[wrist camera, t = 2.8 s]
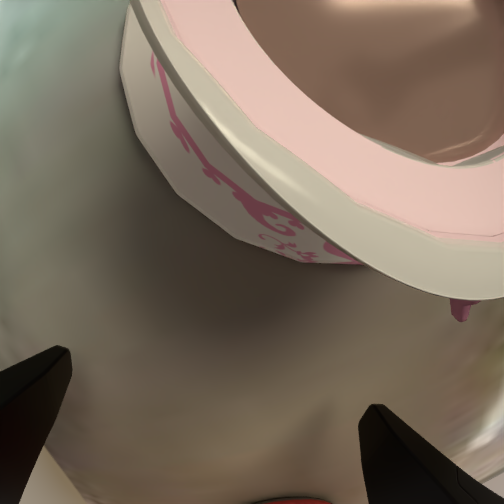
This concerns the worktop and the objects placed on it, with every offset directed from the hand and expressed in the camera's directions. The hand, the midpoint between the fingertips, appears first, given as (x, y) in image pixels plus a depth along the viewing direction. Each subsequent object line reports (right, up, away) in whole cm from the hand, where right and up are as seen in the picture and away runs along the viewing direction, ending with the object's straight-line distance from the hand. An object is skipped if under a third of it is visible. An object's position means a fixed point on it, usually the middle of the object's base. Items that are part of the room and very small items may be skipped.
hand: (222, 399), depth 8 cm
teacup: (+3, +10, -1) cm, 10 cm away
